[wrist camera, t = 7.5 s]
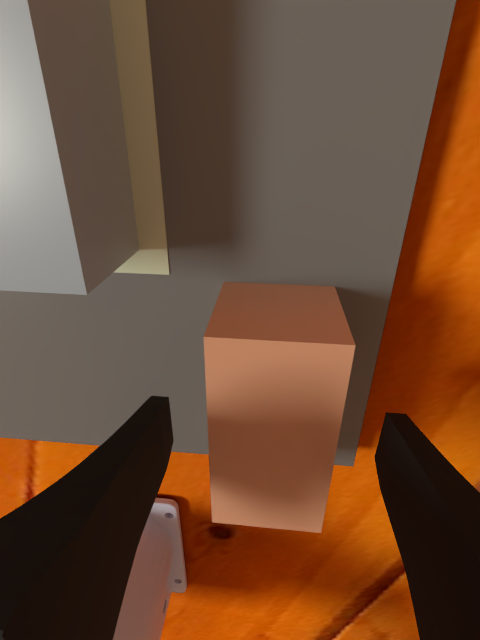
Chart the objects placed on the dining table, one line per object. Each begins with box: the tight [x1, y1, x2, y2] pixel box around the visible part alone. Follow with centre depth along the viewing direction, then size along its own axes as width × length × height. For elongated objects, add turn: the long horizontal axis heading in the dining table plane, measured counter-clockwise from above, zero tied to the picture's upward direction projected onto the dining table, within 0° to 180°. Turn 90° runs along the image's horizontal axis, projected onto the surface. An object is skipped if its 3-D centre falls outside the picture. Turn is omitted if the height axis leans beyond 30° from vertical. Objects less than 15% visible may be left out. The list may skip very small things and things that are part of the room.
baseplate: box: [0, 0, 456, 466], centre depth 14 cm, size 19×23×1 cm
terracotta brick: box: [204, 282, 356, 533], centre depth 13 cm, size 8×4×4 cm, turn 0°
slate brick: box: [0, 0, 139, 295], centre depth 9 cm, size 8×4×4 cm, turn 179°
